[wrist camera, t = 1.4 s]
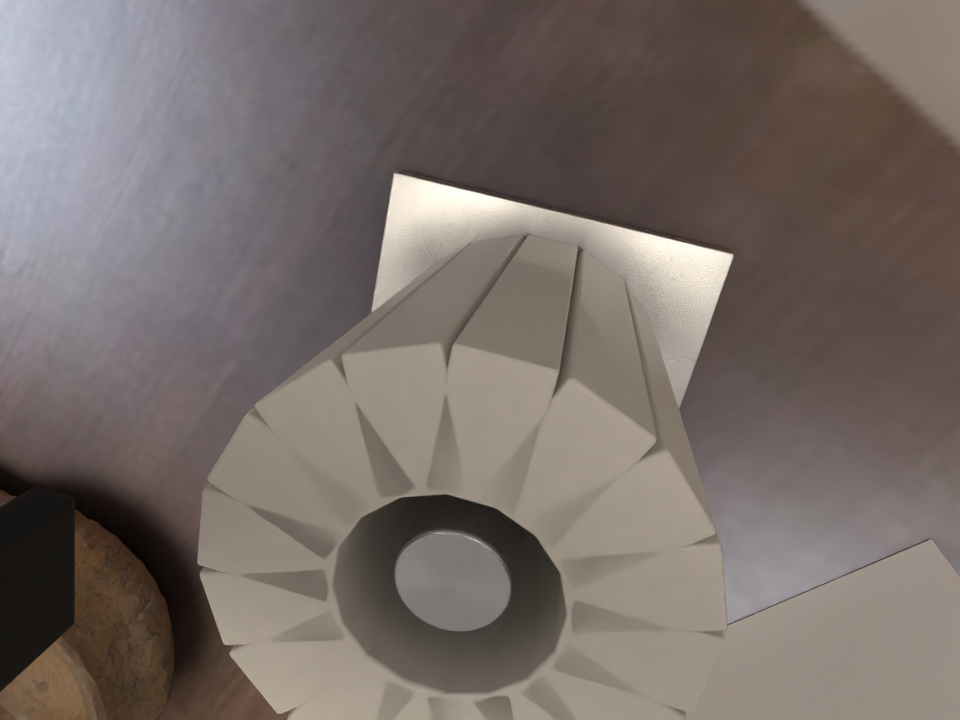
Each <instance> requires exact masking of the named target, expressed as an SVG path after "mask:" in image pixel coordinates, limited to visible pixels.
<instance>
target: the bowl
mask: <svg viewBox="0 0 960 720" xmlns="http://www.w3.org/2000/svg"><path fill="white" fill-rule="evenodd" d="M14 498H16V496H11V495H9V494H8V493H6V492H4V491H2V490H0V507H1V506H3V505H4V504H6V503H8V502H9V501H11V500H13V499H14ZM167 607H168V606H167V603H166V600H165V598H164V597H163V596H162V595H161V593H160V592H159V588H158V586H157V584H156V582H155V580H154V578H153V577H152V576H151V575H150V574H149V573H148V570H147V568H146V567H145V565H144V564H143V562H142V561H141V560H140V559H138V558H137V557H136V556H135V555H134V554H133V553H132V552H131V551H130V550H129V549H128V548H127V547H126V546H125V545H124V544H123V543H122V542H121V541H120V540H119V539H118V538H117V537H116V536H115V535H114V534H111V533H110V532H109V531H107V530H106V529H104V528H103V527H102V526H101V525H100V524H99V523H98V522H96V521H93V520H90V519H87V518H86V517H85V516H84V515H83V514H81V513H80V512H78V511H76V510H75V622H74V625H73V626H71V627H70V628H69V629H68V630H67V631H66V632H65V633H64V634H63V635H62V636H61V637H60V638H58V639H57V640H56V641H55V642H54V643H53V644H52V645H51V646H50V647H49V648H48V649H46V650H45V651H44V652H43V653H42V654H41V655H40V656H39V657H38V658H37V659H36V660H35V661H33V662H32V663H31V664H30V665H29V666H28V667H27V668H26V669H25V670H24V671H23V672H22V673H20V674H19V675H18V676H17V677H16V678H15V679H14V680H13V681H12V682H11V683H10V684H8V685H7V686H6V687H5V688H4V689H3V690H2V691H1V692H0V720H159V719H160V718H161V716H162V715H163V710H164V708H165V707H166V706H167V703H168V700H169V697H170V693H171V688H172V676H173V672H174V662H175V659H174V655H173V650H174V642H173V637H172V633H171V619H170V616H169V614H168V611H167Z"/></svg>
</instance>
